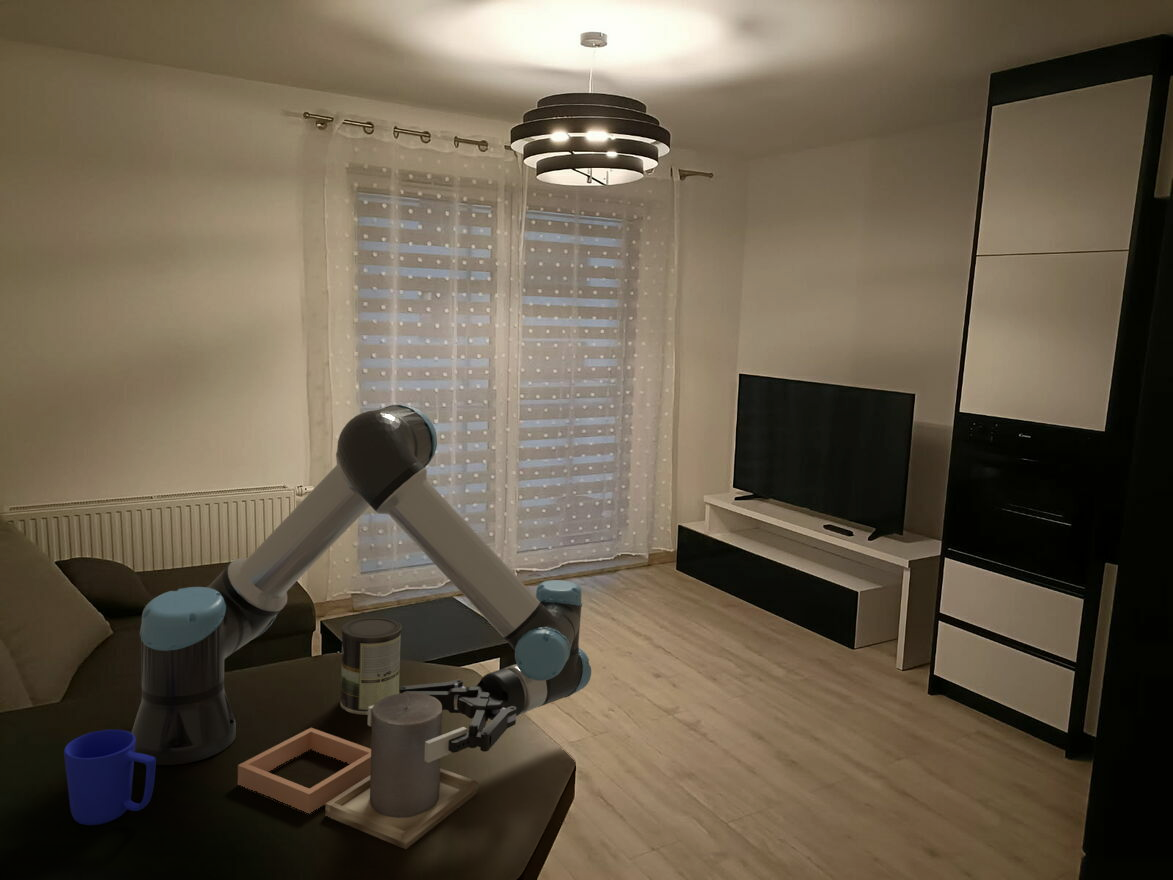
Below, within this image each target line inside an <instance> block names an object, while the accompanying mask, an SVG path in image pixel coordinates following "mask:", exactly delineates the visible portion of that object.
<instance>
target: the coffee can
mask: <svg viewBox="0 0 1173 880" xmlns="http://www.w3.org/2000/svg"><path fill="white" fill-rule="evenodd" d="M402 628H403V626H402V624H401V623H400V622H399V621H397V620H396V619H395V620H394V619H392V618H389V617H380V616H379V617H378V616H376V617H375V616H372V617H371V616H370V617H359V618H355V619H353V620H350V621H347V622H346V623H344V624H343V625H342V626H341V671H340V672H341V679H340V681H341V682H340V683H341V684H340V703H339V704H340V708H341V709H342V710H344V711H345V712H348V713H350V714H353V715H360V716H368V707H369V706H372V705H375V703H376V702H378V701H379V700H381V699H383V698H385V697H387V696H391V695H394V694H400V666H401V665H400V664H401V660H400V659H401V635H402V634H401V633H402V630H403V629H402Z"/></svg>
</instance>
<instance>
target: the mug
mask: <svg viewBox="0 0 1173 880" xmlns="http://www.w3.org/2000/svg"><path fill="white" fill-rule="evenodd" d="M130 732H131V731H128V730H124V729H103V730H102V729H101V730H97V731H96V730H95V731H92V732H89V733H84V734H82V735H80V736H78V737H76V738H74V739H73V740H71V741H69V743H67V744H66V745H65V747H64V750H63V757H64V765H65V772H66V780H67V790H68V799H69V807H70V812H71V816H72V817H73V819H74V821H75V822H77V823H78V824H81V825H85V826H98V825H99V826H100V825H103V824H107V823H110V822H112V821H115V820H116V819H118V818H120V817H122V816H123V815H124V814H125V812H127V810H128V811H133V812H137V811H138V812H139V811H141V810H142V809H143V810H144V808H145V807H147V805H148V804H149V803H150V801H151V799H152V795H153V791H154V787H155V786H154V785H155V779H156V766H157V765H156V758H155V757H153V756H150V755H146V754H141V753H135V744H136V738H135V736H134V735H133V734H132V733H130ZM135 762H137V763H141V764H144V765H145V768H146V771H145V782H144V785H145V786H144V792H143V797H142V799H141V802H140V803H138V802H134V801H133V800H132V794H133V779H134V769H135V767H134V765H135Z"/></svg>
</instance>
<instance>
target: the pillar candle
mask: <svg viewBox="0 0 1173 880" xmlns="http://www.w3.org/2000/svg"><path fill="white" fill-rule="evenodd" d="M442 719H443V710H442V705H441V703H440V701H439V700H437V699H436V698H435V697H432V696H429V695H426V694H420V693H400V692H399V694H394V695H391V696H387V697H385V698H383V699H381V700H379V701H378V702H376V703H375V705H374V706H373V709H372V726H371V740H370V741H371V742H370V743H371V744H370V747H371V748H370V749H371V774H370V804H371V806H372V808H373V809H374V810H375V811H377V812H378V813H380V814H383V815H385V816H390V817H396V818H398V817H399V818H400V817H411V816H415V815H417V814H419V813H421V812H424V811H426V810H429V809H431V808H432V807H433V806H434V805H436V803H437V801H438V799H439V791H440V768H441V767H442V766H441V763H442V762H441V758H442V757H441V758H439V759H436V760H434V761H431V762H429V763H427V762H426V761H424V759H425V741H428V740H430V739H433V738H436V737H438V736H441V735H442V727H443V726H442V723H443V722H442Z"/></svg>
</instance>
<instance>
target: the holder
mask: <svg viewBox="0 0 1173 880" xmlns="http://www.w3.org/2000/svg"><path fill="white" fill-rule="evenodd" d="M310 749H312V750H310ZM308 750H309V751H313V750H314V752H315V751H316V753H318V752H319V754H320V755H323V754H324V756H326V755H327V756H326V757H329V756H330V757H329V758H331V757H333V758H332V759H334V758H336V759H335V760H337V759H338V760H337V761H339V760H341V761H340V762H342V761H343V762H342V763H345V762H347V763H346V764H349V765H347V766H345V767H344V768H342V769H340V770H338V771H337V772H335V773H333V774H331V775H330V776H329V777H327V778H325V779H323V780H322V781H319V782H318V783H316V784H314V785H313V786H312V787H310V788H309V787H306V786H304V785H302V784H299V783H296V782H294V781H292V780H289V779H286V778H284V777H281V776H280V775H276V774H273V773H271V772H272V771H271V770H273V769H274V768H276V767H277V766H279V765H281V764H283V763H285V762H286V761H289V760H290V759H293V758H294V757H296V758H298V757H300V756H302V755H303V754H302V753H304V752H306V751H307V752H309V751H308ZM307 752H306V753H307ZM301 754H302V755H301ZM304 754H305V753H304ZM299 755H300V756H299ZM297 756H298V757H297ZM293 760H294V759H293ZM289 762H290V761H289ZM285 764H286V763H285ZM276 769H277V768H276ZM274 770H275V769H274ZM274 770H273V771H274ZM269 771H271V772H269ZM370 774H371V748H369V747H366V746H364V745H361V744H359V743H355V742H353V741H350V740H347V739H344V738H341V737H339V736H336V735H334V734H330V733H327V732H325V731H322V730H319V729H316V728H313V727H310V728H308V729H305V730H304V731H301V732H300V733H298V734H296V735H294V736H292V737H290V738H288V739H285V740H284V741H282V742H280V743H279V744H276V745H274V746H273V747H270V748H268V749H267V750H264V751H262V752H261V753H259V754H257V755H255V756H253V757H251V758H249V759H247V760H245V761H244V762H241V763H240V764H238V765H237V786H239V785H241V786H240V787H242V786H243V788H244V787H245V789H247V788H248V789H247V790H249V789H250V790H249V791H251V790H253V791H252V792H254V791H257V792H258V793H261V794H264V795H266V796H270V797H271V798H274V799H276V800H278V801H280V802H283V803H285V804H288V805H291V806H292V807H295V808H297V809H299V810H302V811H304V812H306V813H309V814H310V813H311V812H313V811H314V810H316V809H317V810H319V809H320V807H321V806H322V807H324V806H325V804H326V803H327V802H329V801H330V800H332V799H333V798H335V797H337V796H338V795H340V794H341V793H343V792H344V791H346V790H348V789H349V788H351V787H352V786H354V785H356V784H357V783H359V782H360V781H362V780H363V779H365V778H367V777H368V776H370ZM258 793H257V794H258ZM261 794H260V795H261ZM266 796H265V797H266ZM280 802H279V803H280ZM285 804H284V805H285ZM323 805H324V806H323ZM292 807H291V808H292ZM322 807H321V808H322ZM318 808H319V809H318ZM299 810H298V811H299ZM317 810H316V811H317ZM314 812H315V811H314ZM314 812H313V813H314ZM306 813H305V814H306ZM311 814H312V813H311ZM311 814H310V815H311Z"/></svg>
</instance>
